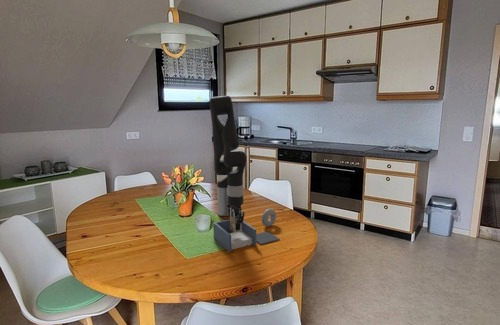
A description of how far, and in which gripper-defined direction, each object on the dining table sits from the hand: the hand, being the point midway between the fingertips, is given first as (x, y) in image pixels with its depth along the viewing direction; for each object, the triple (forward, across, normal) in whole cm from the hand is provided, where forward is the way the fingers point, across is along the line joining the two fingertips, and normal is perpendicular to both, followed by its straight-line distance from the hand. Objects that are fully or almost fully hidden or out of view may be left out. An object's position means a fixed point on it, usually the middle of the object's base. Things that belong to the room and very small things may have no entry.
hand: (235, 228), depth 150 cm
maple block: (+1, 0, 0) cm, 1 cm away
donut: (+8, -9, +25) cm, 28 cm away
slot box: (+7, -1, 0) cm, 7 cm away
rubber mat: (+7, +3, +14) cm, 16 cm away
